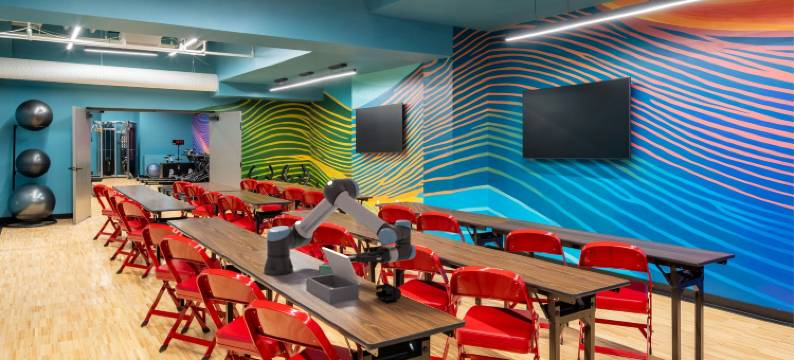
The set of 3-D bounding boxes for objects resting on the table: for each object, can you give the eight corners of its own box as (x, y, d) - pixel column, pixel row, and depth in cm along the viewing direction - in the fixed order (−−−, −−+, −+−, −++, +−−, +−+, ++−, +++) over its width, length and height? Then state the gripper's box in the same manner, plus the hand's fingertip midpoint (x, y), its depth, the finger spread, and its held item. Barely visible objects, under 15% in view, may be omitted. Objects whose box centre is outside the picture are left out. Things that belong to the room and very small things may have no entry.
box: (343, 282, 244) (343, 267, 244) (318, 280, 248) (318, 265, 248) (349, 279, 251) (349, 264, 251) (324, 277, 255) (324, 262, 255)
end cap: (401, 302, 214) (401, 286, 214) (387, 304, 210) (387, 288, 210) (389, 296, 222) (389, 281, 222) (375, 298, 219) (375, 283, 218)
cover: (322, 248, 233) (323, 247, 233) (333, 273, 237) (335, 272, 237) (346, 257, 213) (348, 256, 213) (359, 284, 217) (360, 283, 217)
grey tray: (306, 290, 229) (306, 277, 229) (333, 286, 237) (333, 273, 237) (329, 304, 210) (329, 289, 209) (358, 299, 217) (359, 285, 217)
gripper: (394, 265, 232) (349, 271, 219) (378, 260, 243) (335, 265, 229) (394, 249, 232) (350, 254, 218) (379, 244, 242) (335, 249, 229)
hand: (342, 260), depth 224 cm, fingers closed
